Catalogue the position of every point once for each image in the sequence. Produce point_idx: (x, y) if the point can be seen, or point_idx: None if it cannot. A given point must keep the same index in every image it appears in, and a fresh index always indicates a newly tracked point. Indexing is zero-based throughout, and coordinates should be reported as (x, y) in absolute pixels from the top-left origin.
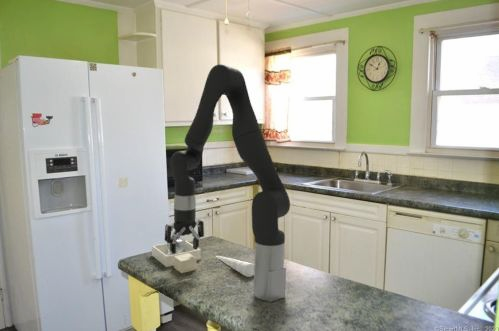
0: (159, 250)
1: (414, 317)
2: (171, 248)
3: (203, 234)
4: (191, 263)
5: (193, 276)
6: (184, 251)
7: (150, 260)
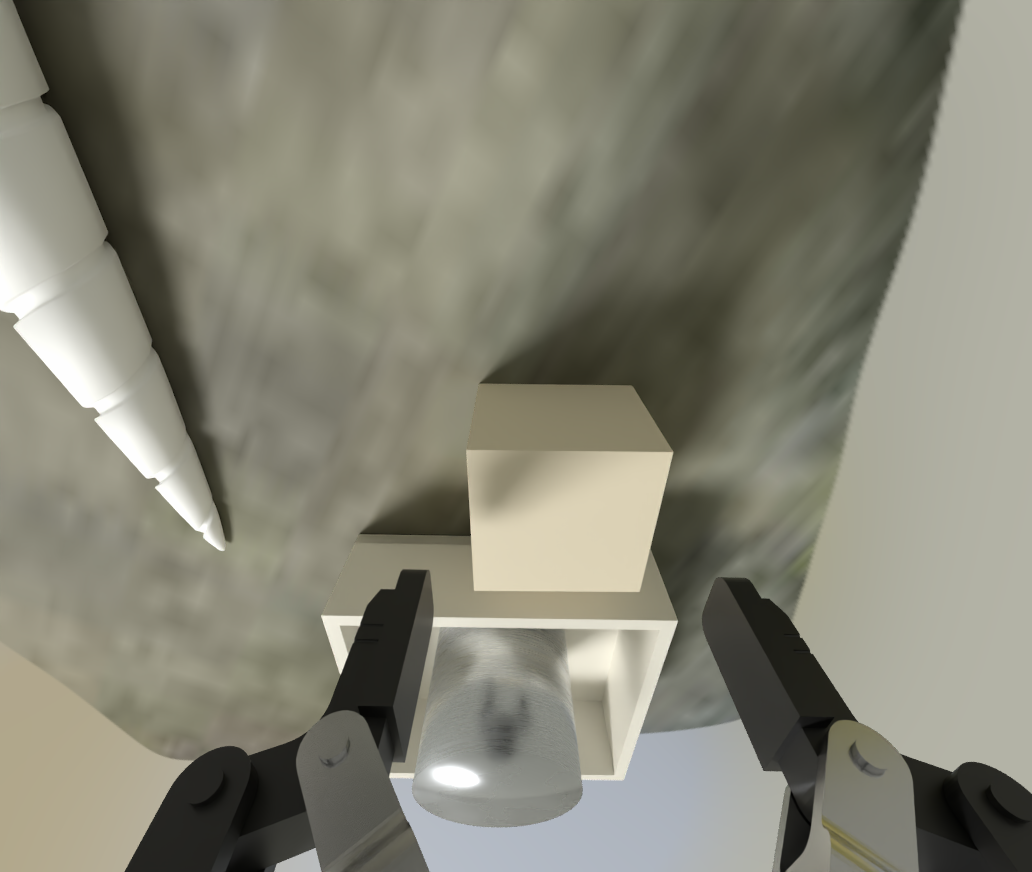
0: (635, 719)
1: None
2: (809, 652)
3: (170, 809)
4: (534, 424)
5: (566, 288)
6: (452, 655)
7: None
